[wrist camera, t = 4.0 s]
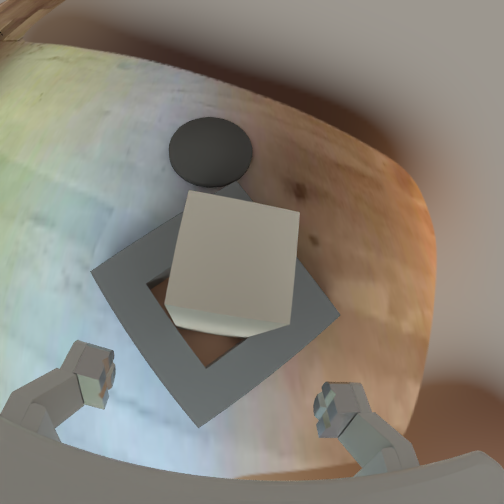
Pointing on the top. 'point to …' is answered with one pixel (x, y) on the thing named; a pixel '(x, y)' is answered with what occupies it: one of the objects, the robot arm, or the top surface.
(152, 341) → the gray square frame
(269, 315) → the block
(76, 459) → the robot arm
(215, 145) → the pad
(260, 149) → the top surface
